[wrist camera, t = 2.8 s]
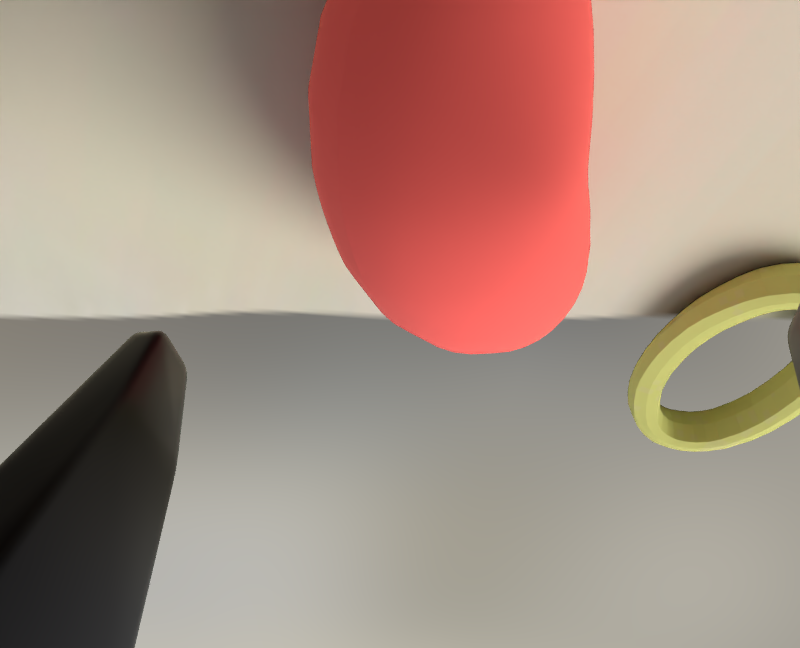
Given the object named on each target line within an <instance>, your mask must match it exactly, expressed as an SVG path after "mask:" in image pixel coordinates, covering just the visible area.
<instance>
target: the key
mask: <svg viewBox="0 0 800 648" xmlns="http://www.w3.org/2000/svg"><path fill="white" fill-rule="evenodd" d="M799 304H800V263H791V264H778V265H773V266H768V267H764V268H759V269H756V270H754V271H751V272H748V273H746V274H743V275H741V276H738V277H736V278H734V279H732V280H730V281H728V282H726V283H724V284H722V285H720V286H718V287H716V288H715V289H713V290H711V291H710V292H708V293H706V294H705V295H703V296H701V297H700V298H698V299H697V300H695V301H694V302H693V303H691V304H690V305H689V306H687V307H686V308H685V309H684V310H682V311H681V312H680V313H679V314H678V315H677V316H676V317H675V318H674V319H672V320H671V321H670V322H669V323H668V324H667V325H666V326H665V327H664V328H663V329H662V330H661V331H660V332H659V333H658V334H657V335H656V337H655V338H654V339H653V340H652V342H651V343H650V344H649V345H648V347H647V348H646V349H645V351H644V352H643V354H642V355H641V357H640V359H639V360H638V362H637V364H636V366H635V368H634V370H633V373H632V375H631V378H630V381H629V387H628V404H629V407H630V410H631V413H632V415H633V417H634V420H635V422H636V424H637V426H638V427H639V429H640V430H641V431H642V433H643V434H644V435H645V436H646V437H648V438H649V439H650V440H651V441H653V442H655V443H657V444H660V445H662V446H665V447H669V448H673V449H676V450H681V451H694V452H696V451H712V450H719V449H725V448H728V447H732V446H735V445H738V444H741V443H745V442H748V441H751V440H754V439H756V438H758V437H760V436H763V435H765V434H767V433H769V432H771V431H773V430H775V429H777V428H778V427H780V426H782V425H783V424H785V423H787V422H788V421H790V420H792V419H793V418H795V417H796V416H798V415H799V414H800V389H799V385H798V381H797V377H796V373H795V369H794V365H793V361H791V362H790V363H789V364H788V365H787V366H786V367H785V368H784V369H782V370H781V371H780V372H778V373H777V374H776V375H775V376H773V377H772V378H771V379H770V380H768V381H767V382H765V383H764V384H762V385H761V386H759V387H758V388H756V389H755V390H753V391H752V392H750V393H748V394H747V395H744V396H742V397H740V398H738V399H736V400H734V401H732V402H730V403H727V404H724V405H722V406H719V407H716V408H714V409H709V410H704V411H694V412H686V411H677V410H671V409H668V408H665V407H663V406H662V405H660V398H661V393H662V390H663V388H664V386H665V384H666V382H667V380H668V379H669V377H670V375H671V374H672V372H673V371H674V370H675V369H676V368H677V367H678V365H679V364H680V363H681V362H682V361H683V360H684V359H685V358H686V357H687V356H688V355H689V354H690V353H691V352H692V351H693V350H694V349H696V348H697V347H698V346H700V345H701V344H703V343H704V342H706V341H707V340H708V339H710V338H711V337H713V336H715V335H717V334H718V333H720V332H721V331H724V330H725V329H728V328H730V327H732V326H735V325H737V324H739V323H741V322H744V321H746V320H749V319H751V318H754V317H757V316H760V315H763V314H767V313H770V312H775V311H782V310H790V309H791V310H797V309H798V306H799Z"/></svg>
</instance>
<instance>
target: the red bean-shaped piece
mask: <svg viewBox="0 0 800 648" xmlns="http://www.w3.org/2000/svg"><path fill="white" fill-rule="evenodd" d="M593 87H594V33H593V19H592V7H591V0H327V1H326V4H325V6H324V9H323V11H322V14H321V18H320V23H319V29H318V35H317V41H316V46H315V52H314V58H313V64H312V69H311V75H310V81H309V87H308V100H309V119H310V138H311V157H312V168H313V173H314V179H315V183H316V187H317V191H318V195H319V199H320V202H321V206H322V209H323V212H324V215H325V218H326V221H327V223H328V226H329V229H330V231H331V234H332V237H333V239H334V242H335V244H336V247H337V249H338V251H339V253H340V256H341V258H342V260H343V262H344V264H345V265H346V267H347V268H348V270H349V271H350V273H351V274H352V275H353V277H354V278H355V279H356V281H357V282H358V283H359V285H360V286H361V287H362V288H363V290H364V291H365V292H366V293H367V295H368V296H369V297H370V298H371V300H372V301H373V302H374V304H375V305H376V306H377V307H378V309H379V310H380V311H381V312H382V313H383V314H384V315H385V316H386V317H387V318H388V319H389V320H390V321H392V322H393V323H394V324H396V325H397V326H399V327H401V328H403V329H404V330H406V331H408V332H410V333H412V334H414V335H415V336H417V337H419V338H421V339H423V340H425V341H427V342H429V343H431V344H433V345H435V346H437V347H439V348H442V349H445V350H448V351H451V352H456V353H465V354H484V353H499V352H510V351H513V350H516V349H520V348H523V347H526V346H528V345H530V344H532V343H534V342H536V341H538V340H540V339H541V338H542V337H544V336H545V335H546V334H548V333H549V332H551V331H552V330H553V329H554V328H555V327H556V326H557V325H558V324H559V323H560V322H561V321H562V320H563V319H564V318H565V316H566V315H567V314H568V312H569V311H570V309H571V308H572V306H573V305H574V303H575V301H576V299H577V297H578V295H579V293H580V291H581V289H582V286H583V283H584V279H585V276H586V273H587V265H588V257H589V250H590V202H589V189H588V160H589V149H590V138H591V127H592V111H593Z"/></svg>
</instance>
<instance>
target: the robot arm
mask: <svg viewBox="0 0 800 648" xmlns="http://www.w3.org/2000/svg"><path fill="white" fill-rule="evenodd" d="M788 344H789V348H790V353H791V356H792V361H793V365H794V369H795V373H796V377H797V381H798V385H799V389H800V304H799V306H798V309H797V311H796V313H795V315H794V318H793V320H792V322H791V325H790V328H789V331H788ZM186 381H187V372H186V367H185V365H184V362H183V361H182V359H181V357H180V356H179V354H178V353H177V351H176V349H175V348H174V346H173V344H172V343H171V341H170V339H169V338H168V336H167V335H166V334H164V333H163V332H161V331H150V332H139V333H136V334H134V335H133V336H131V337H130V338H129V339H128V340H127V341H126V342H125V343H124V344H123V345H122V346H121V347H120V348H119V349H118V350H117V351H116V352H115V353H114V354H113V355H112V356H111V357H110V358H109V359H108V360H107V361H106V362H105V363H104V364H103V365H102V366H101V367H100V368H98V369H97V370H96V371H95V372H94V373H93V374H92V375H91V376H90V377H89V378H88V379H87V380H86V381H85V382H84V383H83V384H82V385H81V386H80V387H79V388H78V389H77V390H76V391H75V392H74V393H73V394H72V395H71V396H70V397H69V398H68V399H67V400H66V401H65V402H64V403H63V404H62V405H61V406H60V407H59V408H58V409H57V410H56V411H55V412H54V413H53V414H52V415H51V416H50V417H49V418H48V419H47V420H46V421H45V422H43V423H42V425H41V426H39V427H38V428H37V429H36V430H35V431H34V432H33V433H32V434H31V435H30V436H29V437H28V438H27V439H26V440H25V441H24V442H23V443H22V444H21V445H20V446H19V447H18V448H17V449H16V450H15V451H14V452H13V453H12V454H11V455H10V456H9V457H8V458H7V459H6V460H5V461H4V462H3V463H2V464H1V465H0V648H134V647H135V643H136V639H137V635H138V630H139V625H140V622H141V618H142V613H143V609H144V605H145V600H146V596H147V591H148V588H149V583H150V579H151V575H152V571H153V566H154V562H155V558H156V553H157V549H158V545H159V541H160V536H161V532H162V528H163V523H164V519H165V515H166V510H167V507H168V502H169V497H170V494H171V489H172V485H173V481H174V476H175V471H176V465H177V458H178V451H179V442H180V434H181V433H180V432H181V425H182V416H183V407H184V399H185V390H186Z"/></svg>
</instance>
